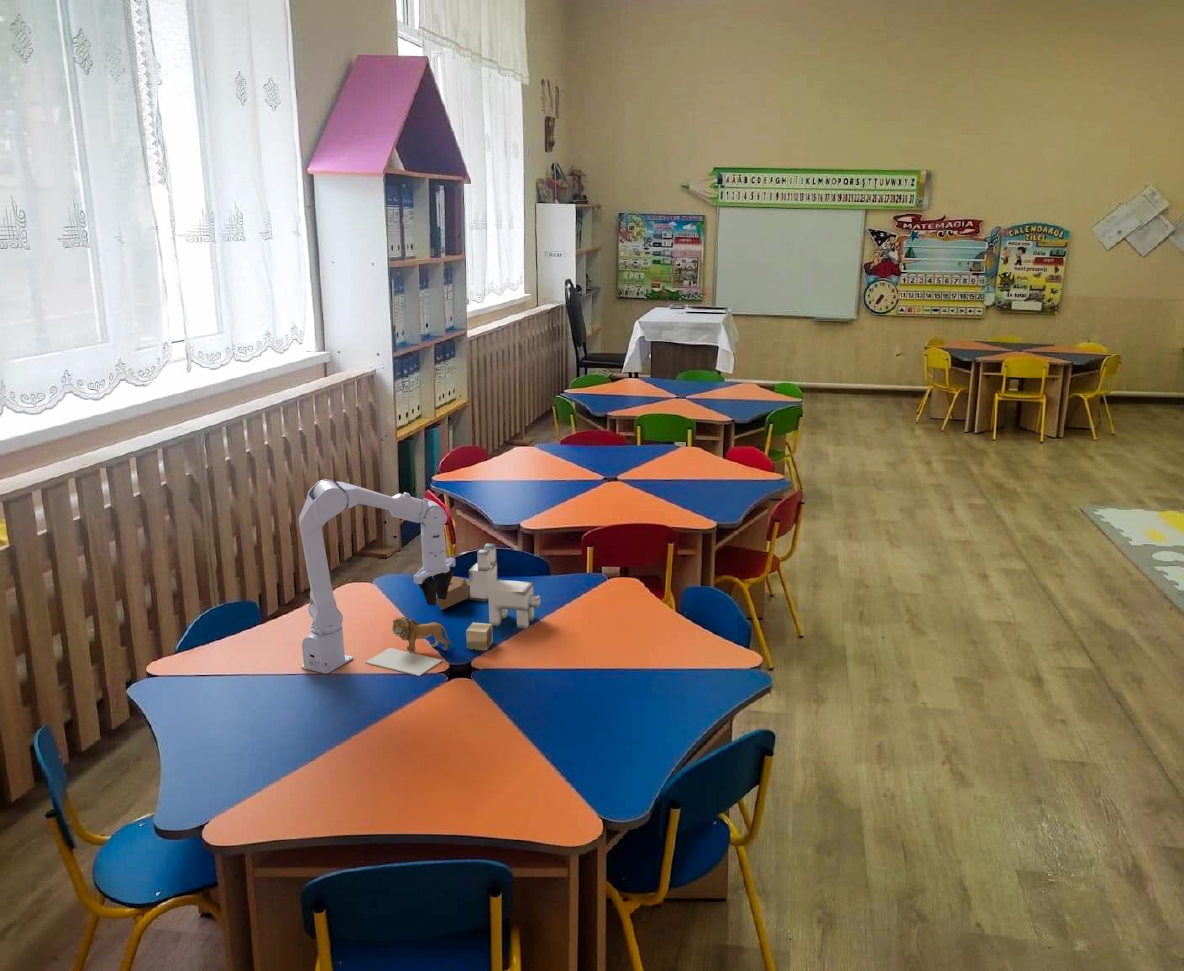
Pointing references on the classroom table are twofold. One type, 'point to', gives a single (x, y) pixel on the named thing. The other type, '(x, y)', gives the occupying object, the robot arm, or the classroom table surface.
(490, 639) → the tan cube
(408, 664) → the felt mat
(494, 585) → the toy llama
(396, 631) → the lion figurine
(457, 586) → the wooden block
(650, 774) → the classroom table surface
